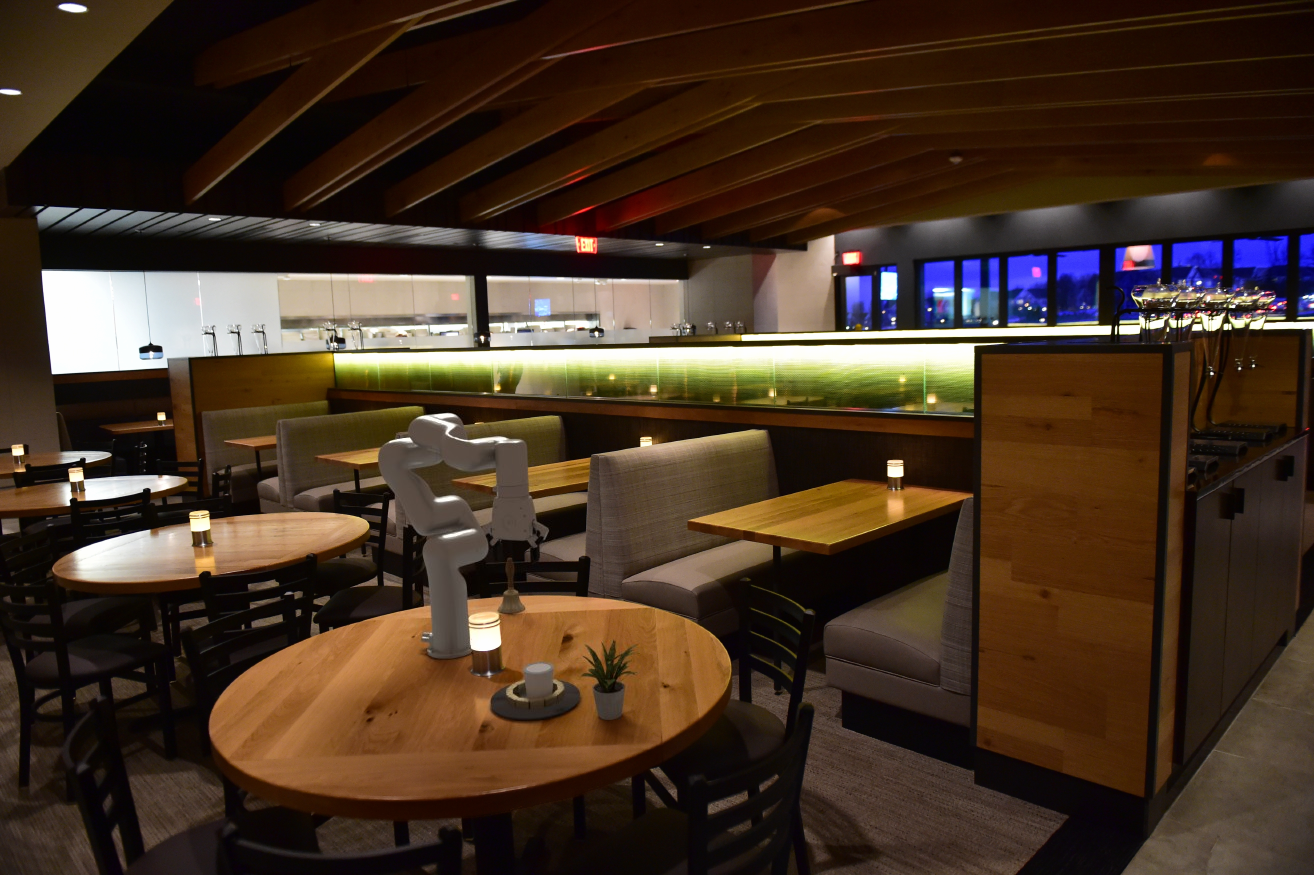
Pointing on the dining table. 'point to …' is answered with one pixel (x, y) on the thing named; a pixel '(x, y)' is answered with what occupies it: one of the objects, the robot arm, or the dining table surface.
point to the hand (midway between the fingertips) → (516, 561)
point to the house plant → (609, 682)
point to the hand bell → (511, 593)
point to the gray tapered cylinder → (538, 679)
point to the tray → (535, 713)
